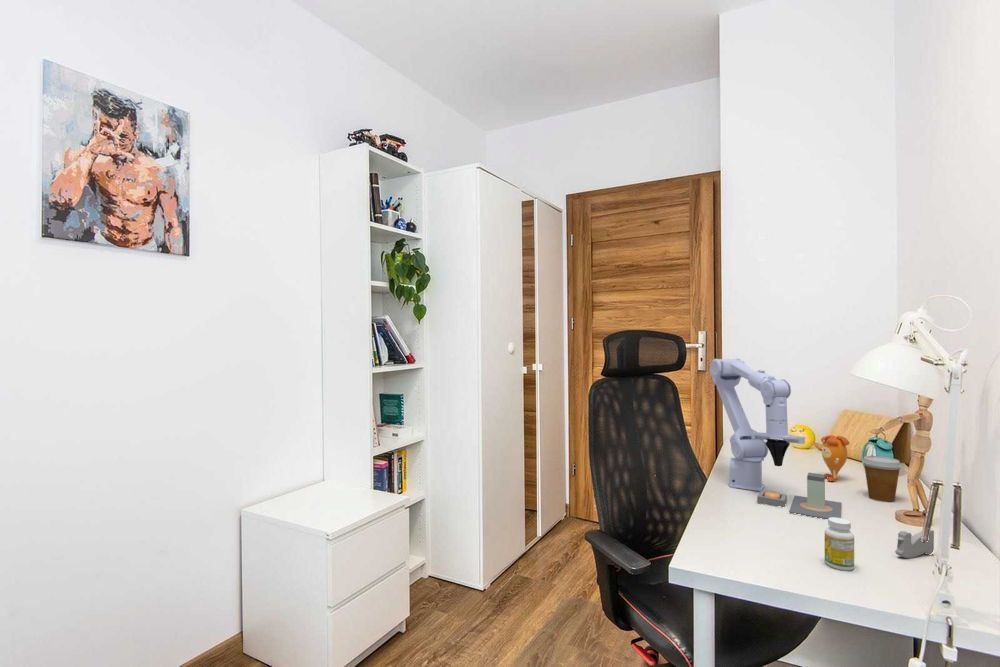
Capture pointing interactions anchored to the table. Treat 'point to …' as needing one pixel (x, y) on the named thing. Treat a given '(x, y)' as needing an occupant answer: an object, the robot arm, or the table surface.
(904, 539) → the grey tape dispenser
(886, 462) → the disposable coffee cup
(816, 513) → the drawing mat
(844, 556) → the supplement bottle
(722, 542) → the table surface
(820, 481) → the grey and green block
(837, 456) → the toy figure
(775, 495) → the button
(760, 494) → the button housing
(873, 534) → the table surface
